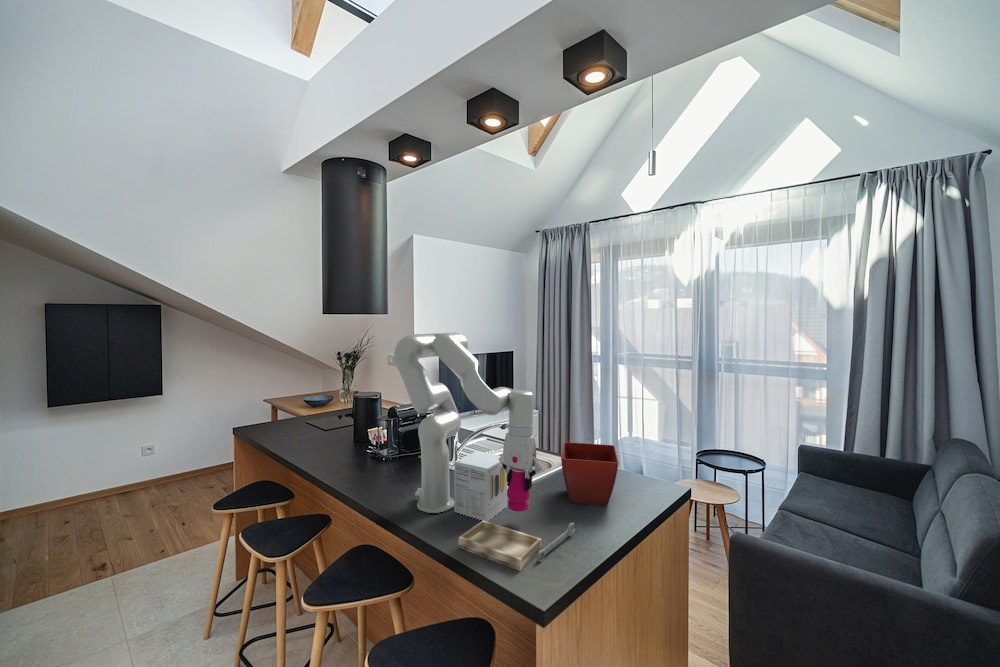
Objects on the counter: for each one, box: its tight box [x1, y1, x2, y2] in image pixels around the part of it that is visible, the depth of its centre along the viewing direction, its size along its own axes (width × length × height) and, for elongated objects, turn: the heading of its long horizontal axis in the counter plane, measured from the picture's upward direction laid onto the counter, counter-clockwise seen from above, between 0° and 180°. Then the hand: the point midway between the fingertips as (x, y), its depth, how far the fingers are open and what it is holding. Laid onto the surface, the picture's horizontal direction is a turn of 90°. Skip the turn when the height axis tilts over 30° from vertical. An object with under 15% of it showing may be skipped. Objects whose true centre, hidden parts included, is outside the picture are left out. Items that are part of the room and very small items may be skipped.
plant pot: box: [560, 441, 619, 507], centre depth 149 cm, size 19×19×17 cm
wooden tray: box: [458, 520, 543, 572], centre depth 116 cm, size 20×12×3 cm, turn 57°
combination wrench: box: [536, 522, 576, 563], centre depth 117 cm, size 4×1×20 cm
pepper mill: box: [507, 456, 531, 513], centre depth 130 cm, size 7×7×20 cm
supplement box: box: [454, 450, 508, 522], centre depth 140 cm, size 13×13×18 cm
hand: (519, 486), depth 130 cm, fingers closed on pepper mill, 5 cm apart
